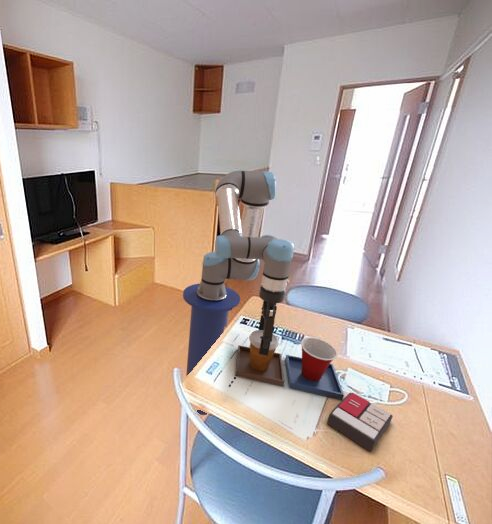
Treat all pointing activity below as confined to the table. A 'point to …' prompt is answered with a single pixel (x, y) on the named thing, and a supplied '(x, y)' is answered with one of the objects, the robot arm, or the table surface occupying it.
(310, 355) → the plastic cup
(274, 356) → the paper tray
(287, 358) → the plastic tray
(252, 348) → the disposable coffee cup
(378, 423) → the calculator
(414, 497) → the table surface
